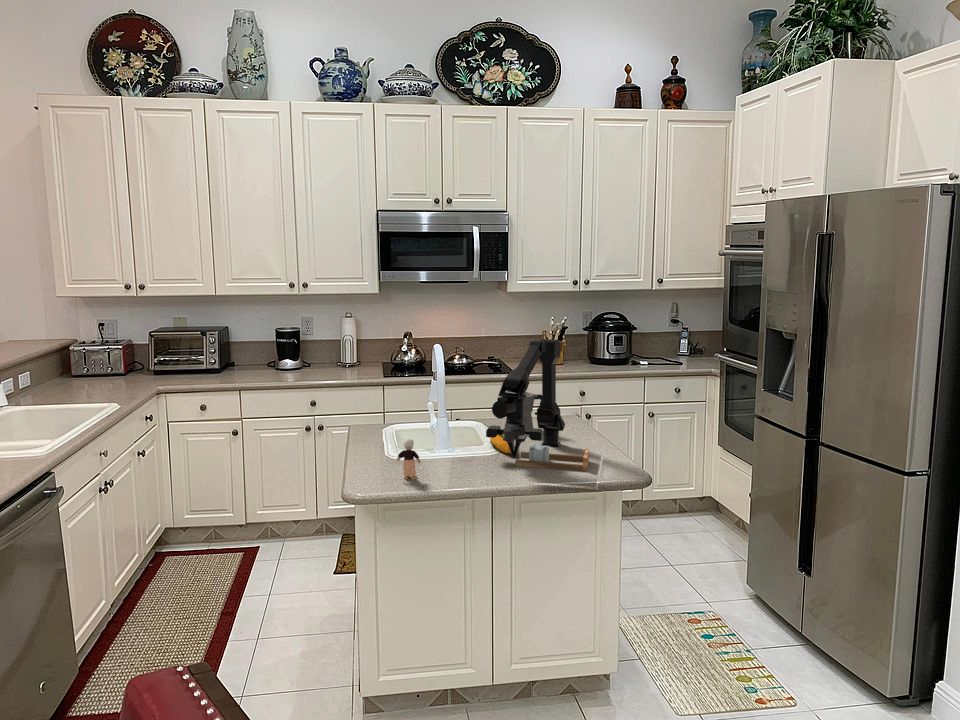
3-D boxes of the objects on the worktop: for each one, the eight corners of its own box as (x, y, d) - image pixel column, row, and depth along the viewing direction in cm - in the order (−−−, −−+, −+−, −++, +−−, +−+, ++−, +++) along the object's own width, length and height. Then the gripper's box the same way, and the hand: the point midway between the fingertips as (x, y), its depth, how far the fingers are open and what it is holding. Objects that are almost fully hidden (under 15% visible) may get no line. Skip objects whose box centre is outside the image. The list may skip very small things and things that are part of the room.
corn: (504, 423, 264) (523, 437, 245) (505, 443, 266) (524, 458, 247) (485, 426, 262) (502, 440, 243) (486, 446, 264) (504, 461, 245)
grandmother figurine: (421, 476, 227) (421, 437, 225) (420, 480, 223) (420, 440, 221) (396, 476, 227) (396, 437, 225) (395, 480, 223) (395, 440, 221)
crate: (531, 459, 244) (531, 444, 243) (549, 460, 242) (549, 445, 242) (528, 464, 238) (529, 449, 237) (546, 465, 237) (547, 450, 236)
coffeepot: (503, 433, 280) (503, 388, 277) (510, 427, 289) (511, 383, 286) (541, 437, 275) (542, 391, 272) (547, 431, 284) (548, 386, 281)
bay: (521, 458, 247) (521, 444, 246) (588, 463, 242) (589, 449, 242) (515, 468, 236) (515, 453, 235) (586, 473, 231) (586, 458, 231)
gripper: (482, 416, 233) (482, 462, 236) (539, 420, 230) (538, 466, 232) (489, 409, 244) (489, 453, 247) (544, 412, 240) (542, 457, 243)
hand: (514, 457), depth 242 cm, fingers closed
